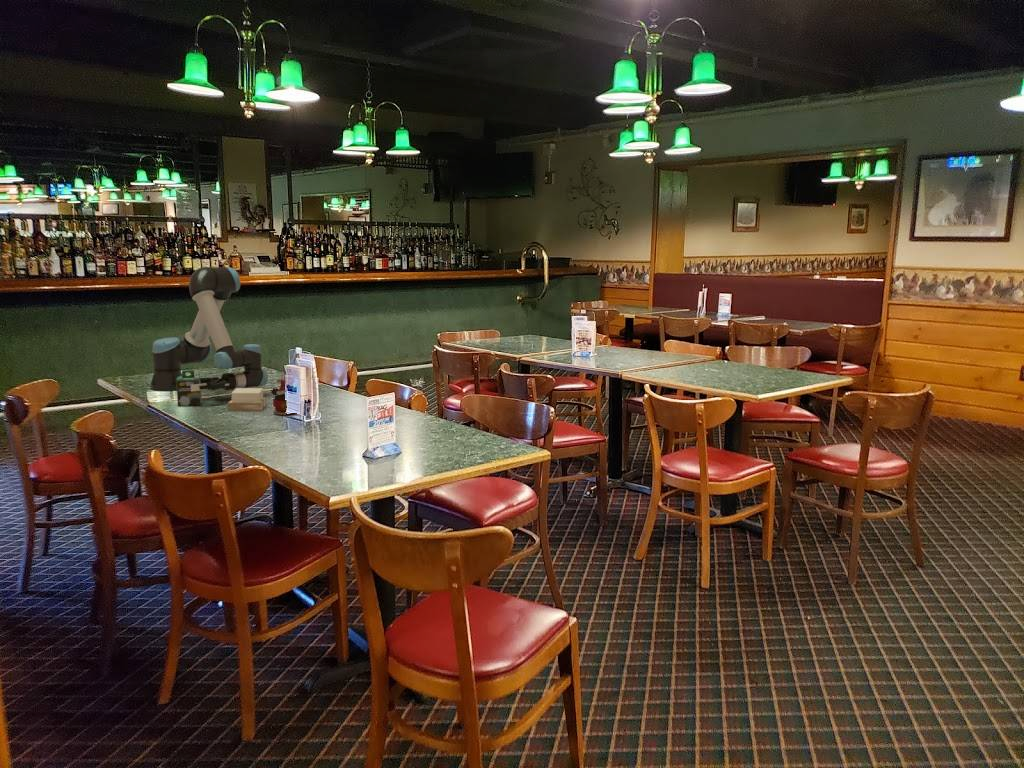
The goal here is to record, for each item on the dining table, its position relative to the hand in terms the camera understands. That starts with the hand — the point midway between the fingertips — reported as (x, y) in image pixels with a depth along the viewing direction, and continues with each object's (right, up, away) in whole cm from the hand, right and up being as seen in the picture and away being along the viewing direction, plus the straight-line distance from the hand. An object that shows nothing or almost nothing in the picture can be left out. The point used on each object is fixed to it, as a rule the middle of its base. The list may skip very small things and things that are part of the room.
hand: (184, 386), depth 314 cm
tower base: (+27, -10, -1) cm, 29 cm away
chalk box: (+1, -8, +3) cm, 8 cm away
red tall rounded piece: (+45, -12, -9) cm, 48 cm away
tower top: (+27, -6, -1) cm, 28 cm away
